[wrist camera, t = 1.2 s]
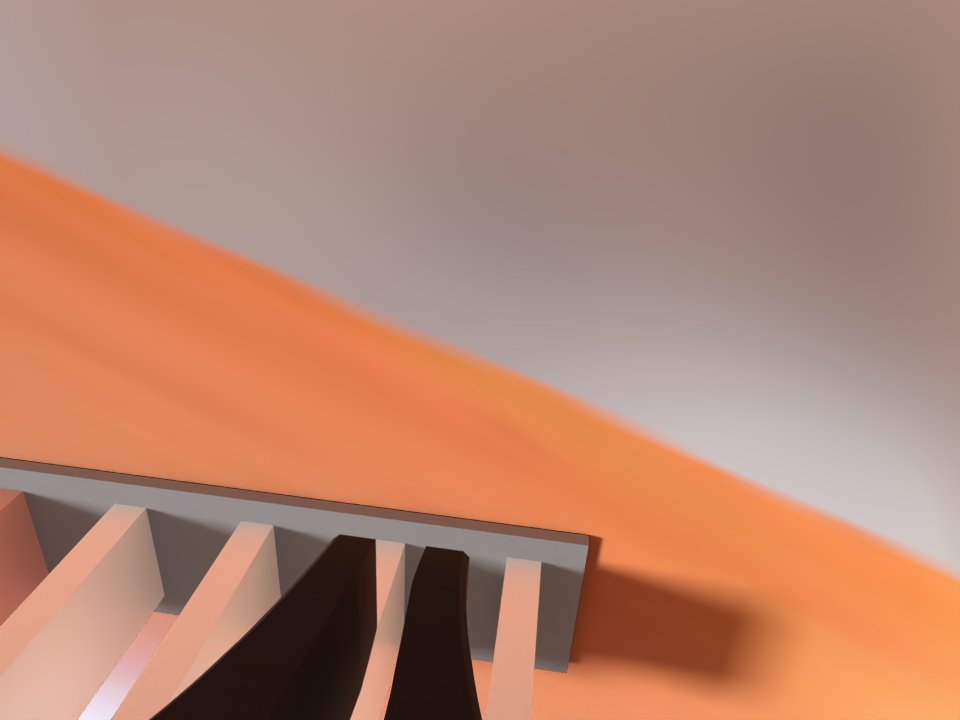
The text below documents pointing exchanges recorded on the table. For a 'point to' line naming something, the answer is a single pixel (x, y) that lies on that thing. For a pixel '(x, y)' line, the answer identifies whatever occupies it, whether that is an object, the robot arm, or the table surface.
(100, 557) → the tile
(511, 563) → the tile
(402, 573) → the tile
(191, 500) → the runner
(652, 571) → the table surface
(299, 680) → the robot arm
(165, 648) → the tile
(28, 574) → the tile
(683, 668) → the table surface
